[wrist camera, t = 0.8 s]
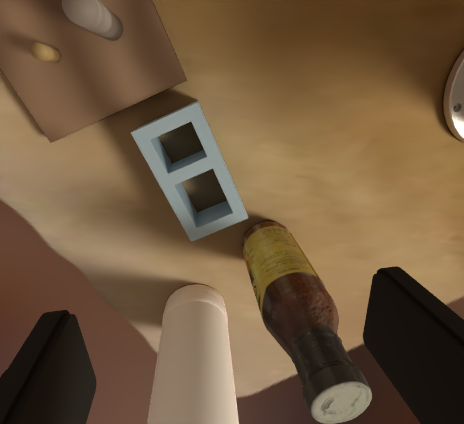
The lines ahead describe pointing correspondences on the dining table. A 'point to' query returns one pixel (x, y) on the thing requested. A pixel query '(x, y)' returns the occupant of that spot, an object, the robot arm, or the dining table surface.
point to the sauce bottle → (304, 323)
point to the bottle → (194, 361)
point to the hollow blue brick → (190, 172)
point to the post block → (84, 58)
